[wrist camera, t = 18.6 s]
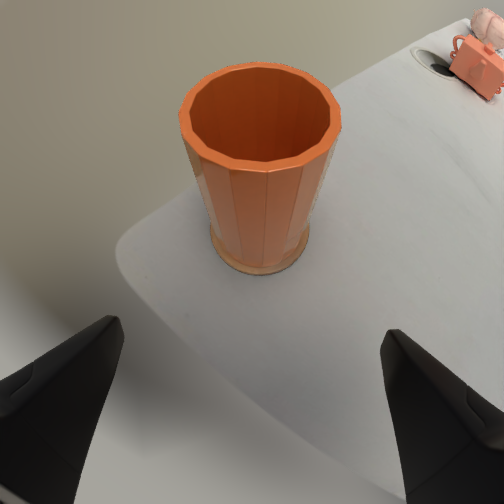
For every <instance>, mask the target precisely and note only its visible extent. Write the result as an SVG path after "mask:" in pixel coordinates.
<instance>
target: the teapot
mask: <svg viewBox="0 0 504 504" xmlns="http://www.w3.org/2000/svg"><path fill="white" fill-rule="evenodd" d="M457 39H463V40H464V41H463V42H462V44H461V46H460V48H459V50H458V48H457ZM453 46H454V50H455V52H454V51H452V52H451V53H450V57H451V58H452V59H453V62H452V64H451V66H450V68H449V70H451V71H452V72H454V73H455V74H456V76H457V77H458V78H459V79H461V80H464V81H465V82H467V83H468V84H469V85H471V86H472V87H473V88H474V89H475V91H476V92H477V93H478V94H480V95H483V96H484V97H485V98H486V99H487V100H489V101H490V100H491V98H492V97H493V95H494V94H495V93H496V94H500V93H501V88H500V87H504V83H502V82H503V81H504V60H503V59H502V58H501V57H500V56H498V55H497V54H496V53H495V51H494V49H493V48H492V47H493V44H492V43H490V42H489V43H488V44H485V45H484V44H483V43H482V42H480V41H479V40H478V39H476V38H475V37H473V36H472V35H470V34H468V36H467V37H464V36H462V35H457V36H455V37H454V38H453ZM453 54H456V56H455V57H454V56H453ZM498 89H499V91H497V90H498Z"/></svg>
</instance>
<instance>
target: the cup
mask: <svg viewBox="0 0 504 504" xmlns="http://www.w3.org/2000/svg"><path fill="white" fill-rule="evenodd" d="M178 115H179V122H180V129H181V135H182V138H183V140H184V144H185V147H186V150H187V153H188V156H189V159H190V162H191V165H192V168H193V171H194V174H195V177H196V180H197V183H198V186H199V189H200V192H201V195H202V197H203V200H204V203H205V206H206V209H207V212H208V215H209V218H210V220H211V223H212V226H213V229H214V232H215V235H216V237H217V240H218V242H219V243H220V245H221V247H222V248H223V250H224V251H225V252H226V253H227V254H228V255H229V256H230V257H231V258H232V259H234V260H235V261H237V262H239V263H241V264H244V265H247V266H251V267H268V266H273V265H276V264H278V263H280V262H282V261H284V260H285V259H287V258H288V257H289V256H291V255H292V254H293V252H294V251H295V250H296V249H297V247H298V245H299V243H300V241H301V239H302V237H303V235H304V233H305V230H306V227H307V225H308V222H309V219H310V217H311V214H312V211H313V209H314V206H315V203H316V200H317V198H318V195H319V192H320V189H321V186H322V184H323V181H324V178H325V175H326V172H327V170H328V167H329V164H330V161H331V158H332V155H333V152H334V149H335V146H336V143H337V141H338V138H339V135H340V132H341V110H340V106H339V104H338V103H337V101H336V99H335V98H334V96H333V95H332V93H331V91H330V90H329V88H327V86H325V85H324V84H323V83H321V82H320V81H318V80H317V79H316V78H314V77H313V76H312V75H310V74H309V73H307V72H304V71H301V70H299V69H296V68H293V67H290V66H287V65H284V64H283V65H282V64H277V63H267V62H250V63H244V64H238V65H232V66H227V67H225V68H223V69H220V70H218V71H216V72H214V73H212V74H209V75H207V76H206V77H204V78H203V79H202V80H200V81H199V82H198V83H197V84H196V85H195V86H194V87H193V88H192V89H191V90H190V91H189V92H188V93H187V94H186V96H185V98H184V101H183V103H182V106H181V108H180V110H179V114H178Z"/></svg>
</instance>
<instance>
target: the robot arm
mask: <svg viewBox="0 0 504 504" xmlns="http://www.w3.org/2000/svg"><path fill="white" fill-rule="evenodd" d="M123 342H124V332H123V329H122V326H121V323H120V319H119V318H118V317H117V316H112V315H107V316H105V317H103V318H102V319H100V320H98V321H97V322H95V323H94V324H92V325H90V326H89V327H87V328H85V329H84V330H82V331H80V332H79V333H78V334H76V335H74V336H72V337H71V338H69V339H68V340H66V341H64V342H63V343H61V344H60V345H58V346H56V347H55V348H53V349H52V350H50V351H48V352H47V353H46V354H44V355H42V356H41V357H39V358H37V359H36V360H34V362H32V363H30V364H28V365H26V366H25V367H23V368H22V369H20V370H19V371H17V372H15V373H13V374H11V375H10V376H8V377H6V378H4V379H2V380H0V504H74V500H75V496H76V492H77V488H78V485H79V480H80V477H81V473H82V470H83V466H84V463H85V460H86V457H87V453H88V450H89V447H90V444H91V441H92V437H93V435H94V431H95V429H96V425H97V423H98V420H99V417H100V414H101V411H102V408H103V405H104V403H105V400H106V397H107V395H108V392H109V389H110V386H111V384H112V381H113V378H114V375H115V371H116V368H117V364H118V361H119V357H120V353H121V350H122V346H123ZM380 356H381V363H382V369H383V377H384V384H385V391H386V396H387V400H388V404H389V408H390V413H391V417H392V422H393V426H394V431H395V436H396V441H397V446H398V451H399V456H400V462H401V468H402V474H403V480H404V487H405V493H406V495H407V496H406V502H407V504H504V412H502V411H501V410H499V409H498V408H496V407H495V406H494V405H492V404H491V403H490V402H488V401H487V400H486V399H484V398H483V397H482V396H481V395H479V394H478V393H477V392H476V391H474V390H473V389H472V388H471V387H470V386H467V384H466V383H465V382H464V381H462V380H461V379H460V378H459V377H458V376H456V375H455V374H454V373H453V372H452V371H450V370H449V369H448V368H447V367H445V366H444V365H443V364H442V363H441V362H439V361H438V360H437V359H436V358H434V357H433V356H432V355H431V354H430V353H428V352H427V351H426V350H425V349H423V348H422V347H421V346H420V345H418V344H417V343H416V342H415V341H413V340H412V339H411V338H410V337H408V336H407V335H406V334H405V333H403V332H402V331H401V330H399V329H390V330H388V331H387V332H386V335H385V337H384V340H383V343H382V345H381V348H380Z"/></svg>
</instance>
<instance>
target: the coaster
mask: <svg viewBox="0 0 504 504" xmlns="http://www.w3.org/2000/svg"><path fill="white" fill-rule="evenodd" d="M210 233H211V239H212V242H213V245H214V247H215V249H216V251H217V253H218V254H219V256H220V257H221V258H222V259H223V261H224V262H225V263H227V264H228V265H229V266H230V267H232V268H234V269H235V270H237V271H240V272H242V273H246V274H249V275H270V274H274V273H277V272H280V271H282V270H284V269H286V268H288V267H289V266H290V265H292V264H293V263H294V262H295V261H296V260H297V259H298V258H299V257H300V255H301V254H302V252H303V250H304V249H305V246H306V244H307V241H308V237H309V222H308V225H307V227H306V230H305V233H304V235H303V237H302V239H301V241H300V243H299V245H298V247H297V249H296V250H295V251H294V252H293V254H292V255H291V256H289V257H288V258H287V259H285V260H284V261H282V262H280V263H278V264H276V265H273V266H268V267H251V266H247V265H244V264H241V263H239V262H237V261H235V260H234V259H232V258H231V257H230V256H229V255H228V254H227V253H226V252H225V251H224V250H223V248H222V247H221V245H220V243H219V242H218V240H217V237H216V235H215V232H214V229H213V226H212V223H211V225H210Z"/></svg>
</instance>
